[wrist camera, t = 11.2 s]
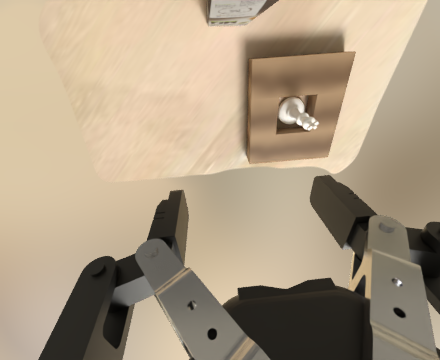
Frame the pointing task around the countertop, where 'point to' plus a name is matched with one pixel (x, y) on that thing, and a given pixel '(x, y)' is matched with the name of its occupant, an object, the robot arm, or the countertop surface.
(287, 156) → the socket board
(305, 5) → the countertop surface
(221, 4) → the coffee box
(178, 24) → the countertop surface
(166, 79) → the countertop surface
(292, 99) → the chess piece
